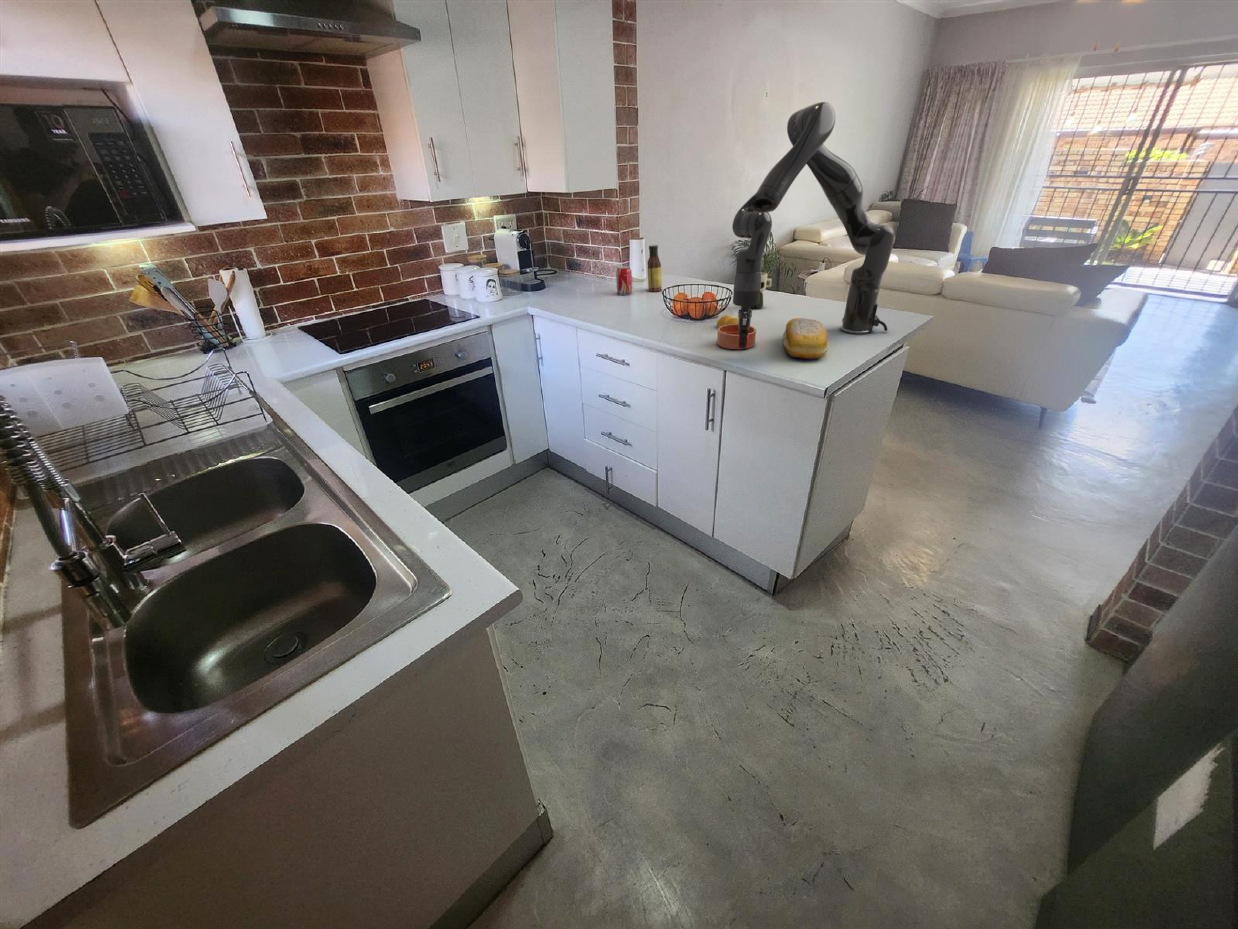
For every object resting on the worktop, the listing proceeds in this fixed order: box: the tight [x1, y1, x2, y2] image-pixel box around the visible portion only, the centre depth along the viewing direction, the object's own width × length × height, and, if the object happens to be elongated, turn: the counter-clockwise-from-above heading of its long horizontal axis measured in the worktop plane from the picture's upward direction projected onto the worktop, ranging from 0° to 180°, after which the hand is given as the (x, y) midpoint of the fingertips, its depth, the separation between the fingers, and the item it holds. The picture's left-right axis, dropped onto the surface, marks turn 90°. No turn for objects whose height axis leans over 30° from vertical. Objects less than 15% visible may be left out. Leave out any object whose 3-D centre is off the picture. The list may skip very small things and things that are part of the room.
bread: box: [782, 317, 829, 360], centre depth 159 cm, size 13×26×8 cm, turn 169°
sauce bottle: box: [647, 244, 663, 293], centre depth 233 cm, size 7×6×20 cm
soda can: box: [615, 265, 633, 296], centre depth 232 cm, size 7×7×12 cm
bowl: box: [716, 324, 757, 350], centre depth 166 cm, size 12×12×5 cm
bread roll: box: [716, 315, 739, 328], centre depth 183 cm, size 8×9×4 cm
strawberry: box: [737, 335, 749, 347], centre depth 153 cm, size 3×3×4 cm
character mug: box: [750, 272, 773, 309], centre depth 201 cm, size 11×7×13 cm, turn 79°
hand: (742, 345), depth 154 cm, fingers closed on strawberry, 3 cm apart
